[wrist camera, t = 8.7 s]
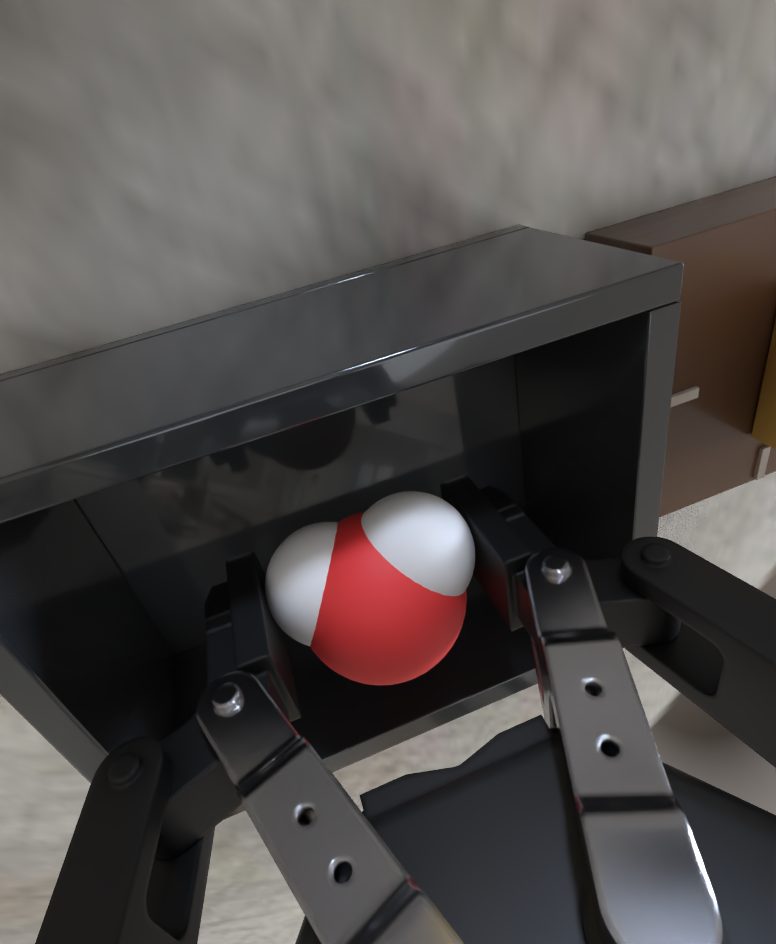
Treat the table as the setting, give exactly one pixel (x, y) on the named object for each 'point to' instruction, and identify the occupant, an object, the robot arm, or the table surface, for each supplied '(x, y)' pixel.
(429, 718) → the dark grey storage bin
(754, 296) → the tap panel
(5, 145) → the table surface
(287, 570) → the molecule
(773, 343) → the yellow bar
